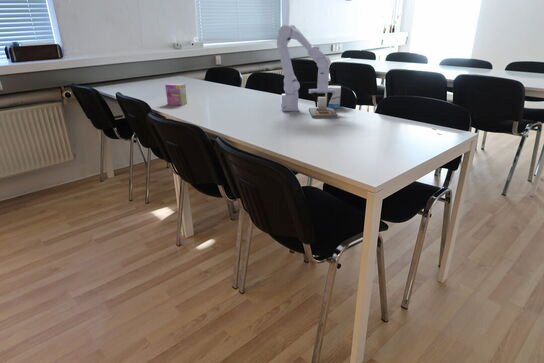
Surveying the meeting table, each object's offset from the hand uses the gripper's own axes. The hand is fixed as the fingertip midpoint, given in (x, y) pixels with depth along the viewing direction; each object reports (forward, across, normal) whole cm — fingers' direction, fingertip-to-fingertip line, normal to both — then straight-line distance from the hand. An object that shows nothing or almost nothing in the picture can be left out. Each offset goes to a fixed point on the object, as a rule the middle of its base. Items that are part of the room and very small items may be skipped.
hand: (321, 106), depth 204 cm
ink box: (+3, +8, +14) cm, 16 cm away
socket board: (+3, 0, -4) cm, 5 cm away
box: (+3, -84, +24) cm, 87 cm away
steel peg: (+3, 0, 0) cm, 3 cm away
